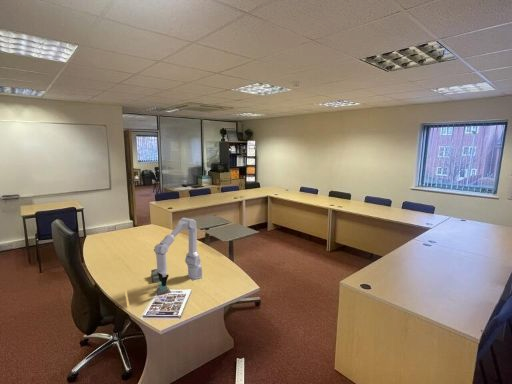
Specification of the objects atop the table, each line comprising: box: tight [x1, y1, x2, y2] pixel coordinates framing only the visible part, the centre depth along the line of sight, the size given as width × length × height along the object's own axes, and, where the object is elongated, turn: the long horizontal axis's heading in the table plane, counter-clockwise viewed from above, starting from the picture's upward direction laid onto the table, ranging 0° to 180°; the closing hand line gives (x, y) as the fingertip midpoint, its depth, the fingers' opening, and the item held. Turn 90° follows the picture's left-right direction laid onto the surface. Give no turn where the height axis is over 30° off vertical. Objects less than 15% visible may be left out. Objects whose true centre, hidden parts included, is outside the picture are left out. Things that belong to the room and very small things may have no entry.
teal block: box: [158, 282, 168, 290], centre depth 171 cm, size 4×4×4 cm
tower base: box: [155, 286, 172, 297], centre depth 172 cm, size 8×8×2 cm
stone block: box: [150, 268, 161, 284], centre depth 190 cm, size 9×14×5 cm, turn 27°
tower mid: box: [156, 286, 169, 296], centre depth 171 cm, size 6×6×2 cm
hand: (162, 283), depth 171 cm, fingers open, 7 cm apart
